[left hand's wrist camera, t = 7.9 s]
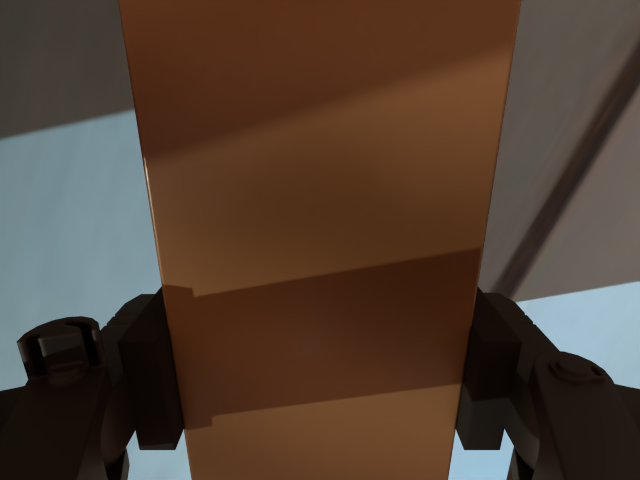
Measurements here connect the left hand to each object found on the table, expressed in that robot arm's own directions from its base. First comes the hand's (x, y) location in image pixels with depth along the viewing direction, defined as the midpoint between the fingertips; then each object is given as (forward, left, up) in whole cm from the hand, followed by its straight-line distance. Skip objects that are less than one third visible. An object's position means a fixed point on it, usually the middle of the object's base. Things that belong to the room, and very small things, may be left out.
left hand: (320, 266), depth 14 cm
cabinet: (+3, -3, -4) cm, 6 cm away
